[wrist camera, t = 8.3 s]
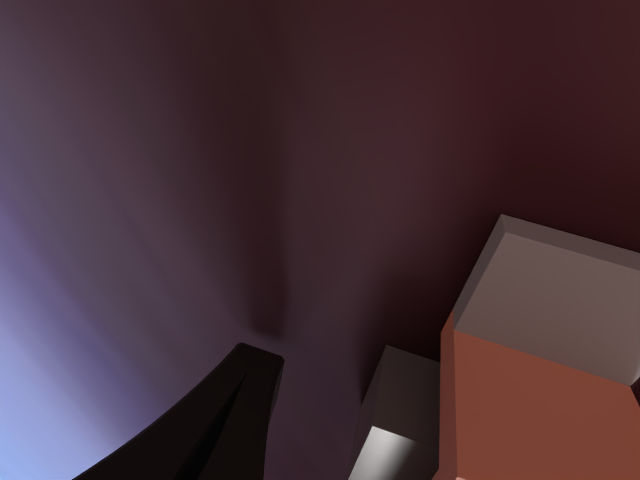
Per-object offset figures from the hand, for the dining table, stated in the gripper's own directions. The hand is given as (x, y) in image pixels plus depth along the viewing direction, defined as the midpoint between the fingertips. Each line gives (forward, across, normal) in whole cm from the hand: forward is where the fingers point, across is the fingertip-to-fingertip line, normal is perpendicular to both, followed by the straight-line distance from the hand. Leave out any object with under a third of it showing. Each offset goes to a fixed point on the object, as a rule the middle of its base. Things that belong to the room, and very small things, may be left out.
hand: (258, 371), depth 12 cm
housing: (+1, -6, 0) cm, 7 cm away
